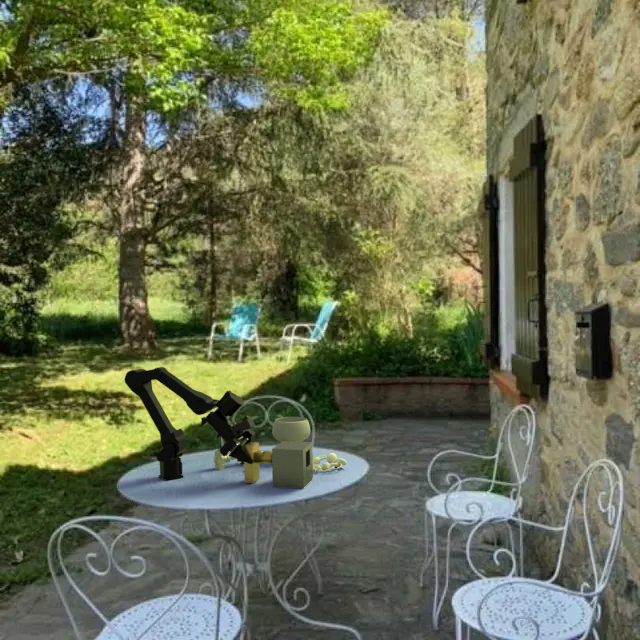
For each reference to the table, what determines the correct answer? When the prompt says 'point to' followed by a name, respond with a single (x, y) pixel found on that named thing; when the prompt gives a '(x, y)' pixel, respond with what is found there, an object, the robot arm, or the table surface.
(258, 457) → the end cover
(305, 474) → the housing
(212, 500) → the table surface
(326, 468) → the tangled rod sculpture
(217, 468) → the valve
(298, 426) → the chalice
